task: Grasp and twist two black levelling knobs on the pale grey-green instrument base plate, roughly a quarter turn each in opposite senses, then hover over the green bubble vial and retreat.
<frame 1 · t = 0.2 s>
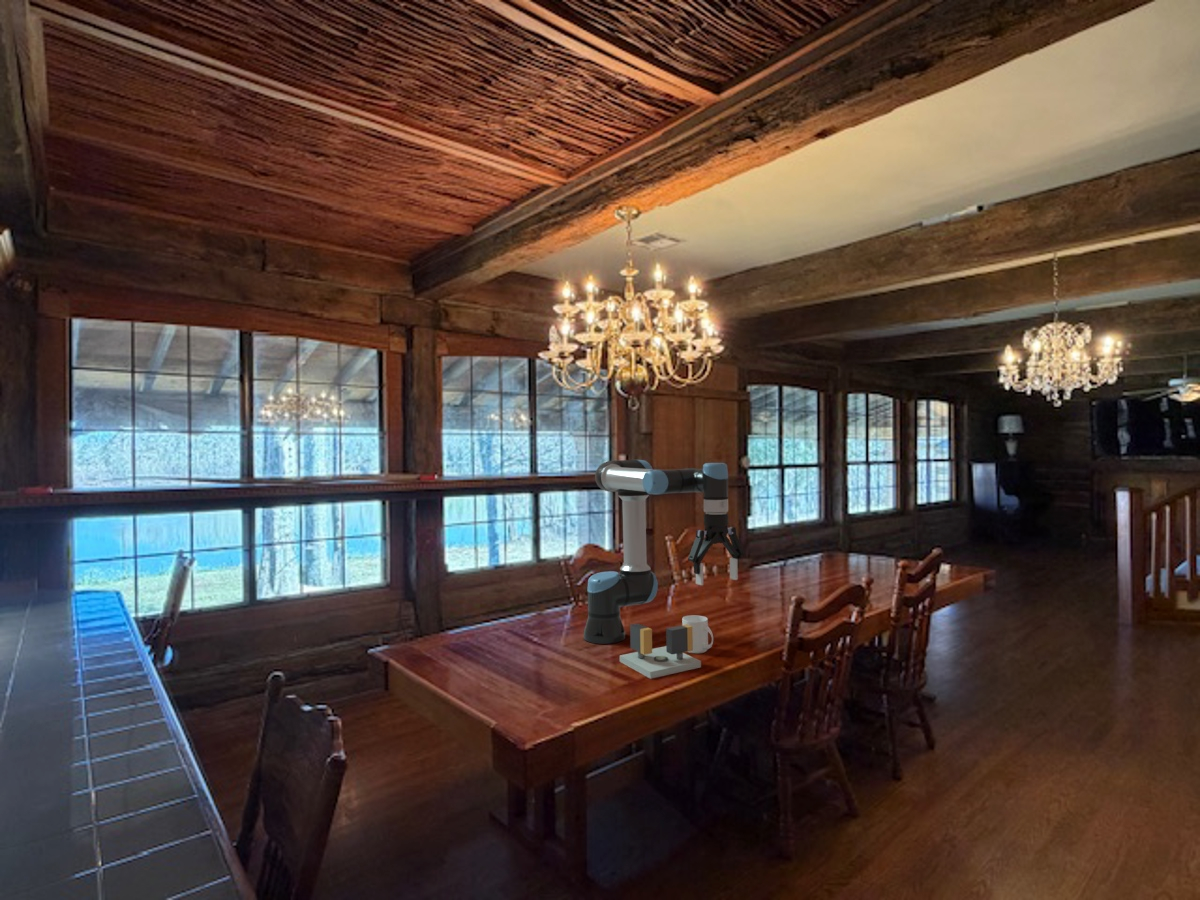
hand: (717, 581, 196), 28 cm above the table, fingers open, 13 cm apart
knob b: (679, 642, 202), point 7 cm above the table, hinge at 0.0°
knob a: (641, 642, 203), point 7 cm above the table, hinge at 0.0°
mug: (699, 651, 216), on the table
base plate: (659, 664, 203), on the table
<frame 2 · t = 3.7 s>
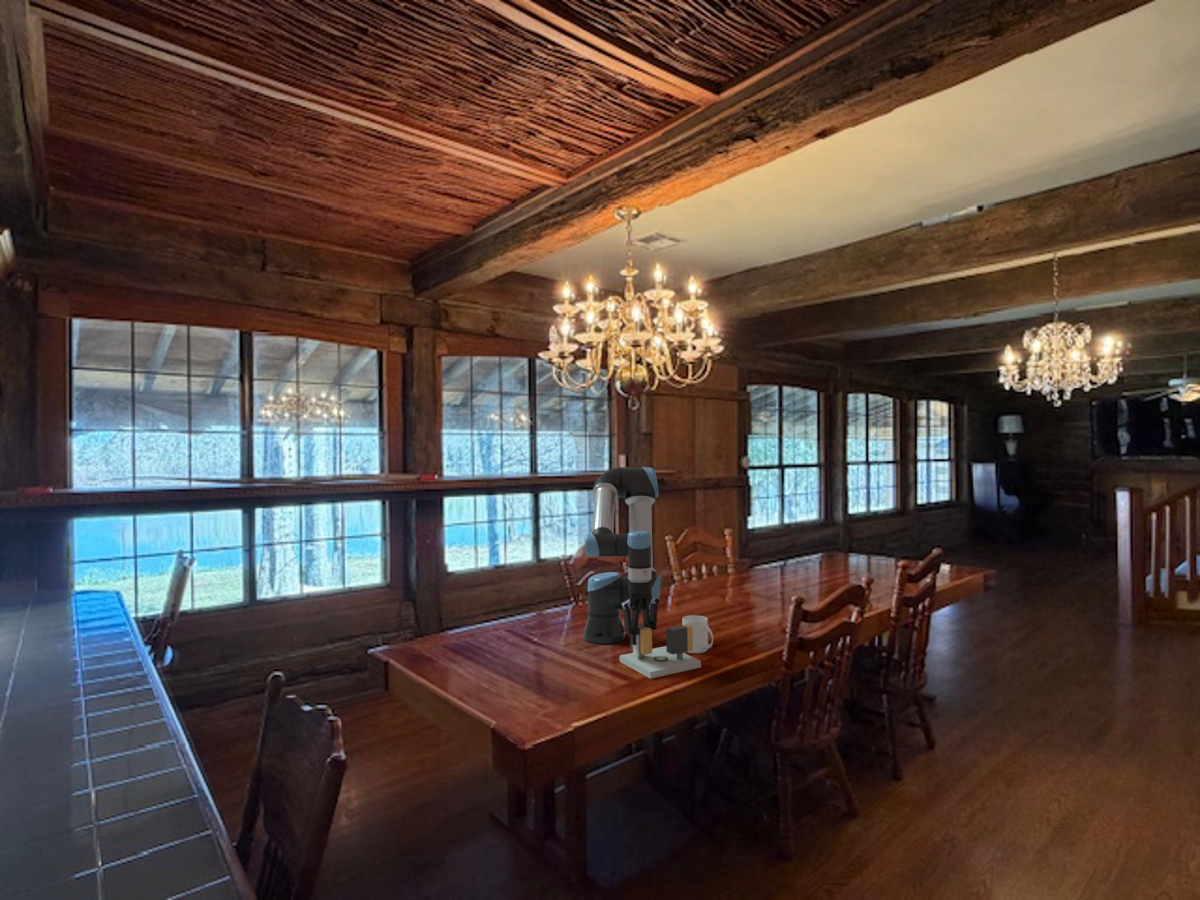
hand: (641, 653, 203), 4 cm above the table, fingers closed on knob a, 3 cm apart
knob a: (641, 642, 203), point 7 cm above the table, hinge at 0.0°, touching gripper
everything else where it was.
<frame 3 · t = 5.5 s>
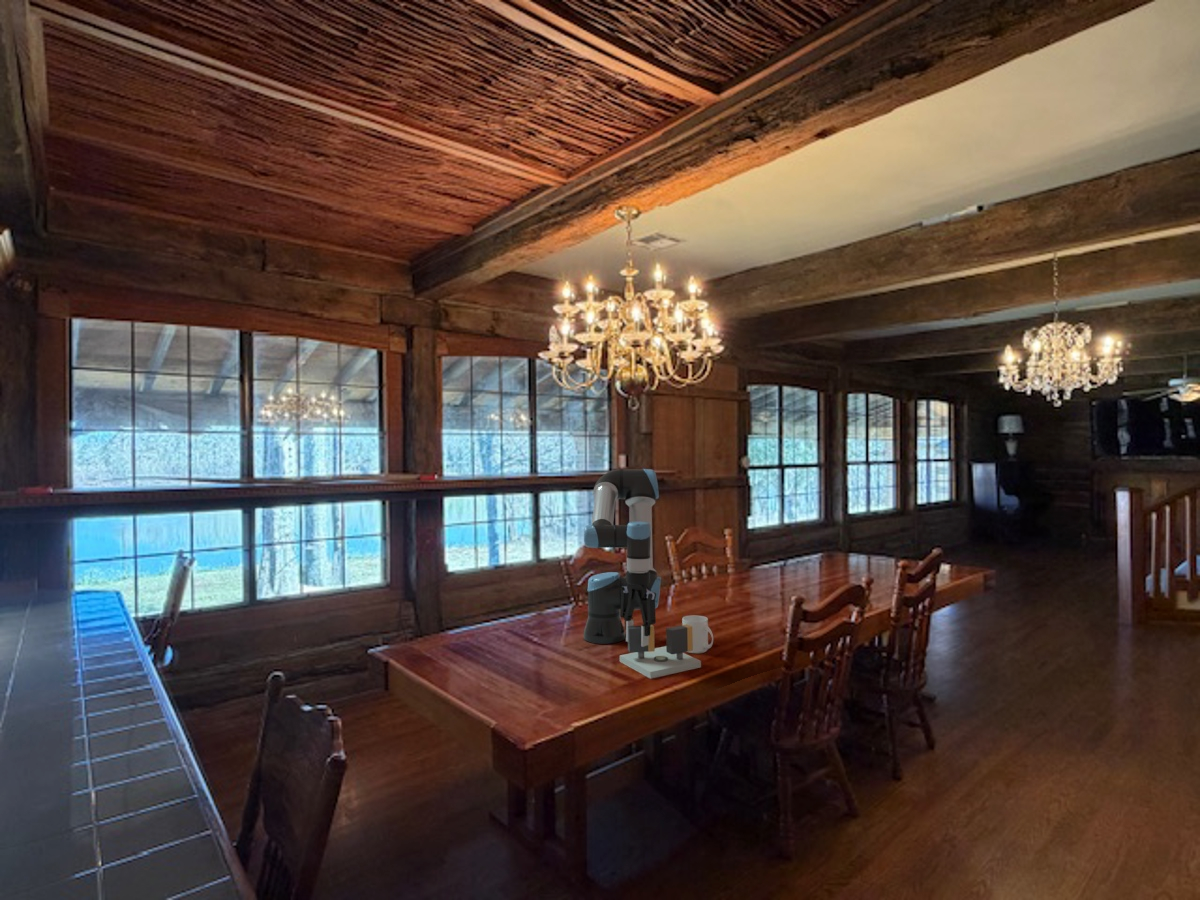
hand: (637, 643, 203), 7 cm above the table, fingers closed on knob a, 6 cm apart
knob a: (641, 642, 203), point 7 cm above the table, hinge at 68.3°, touching gripper
everything else where it was.
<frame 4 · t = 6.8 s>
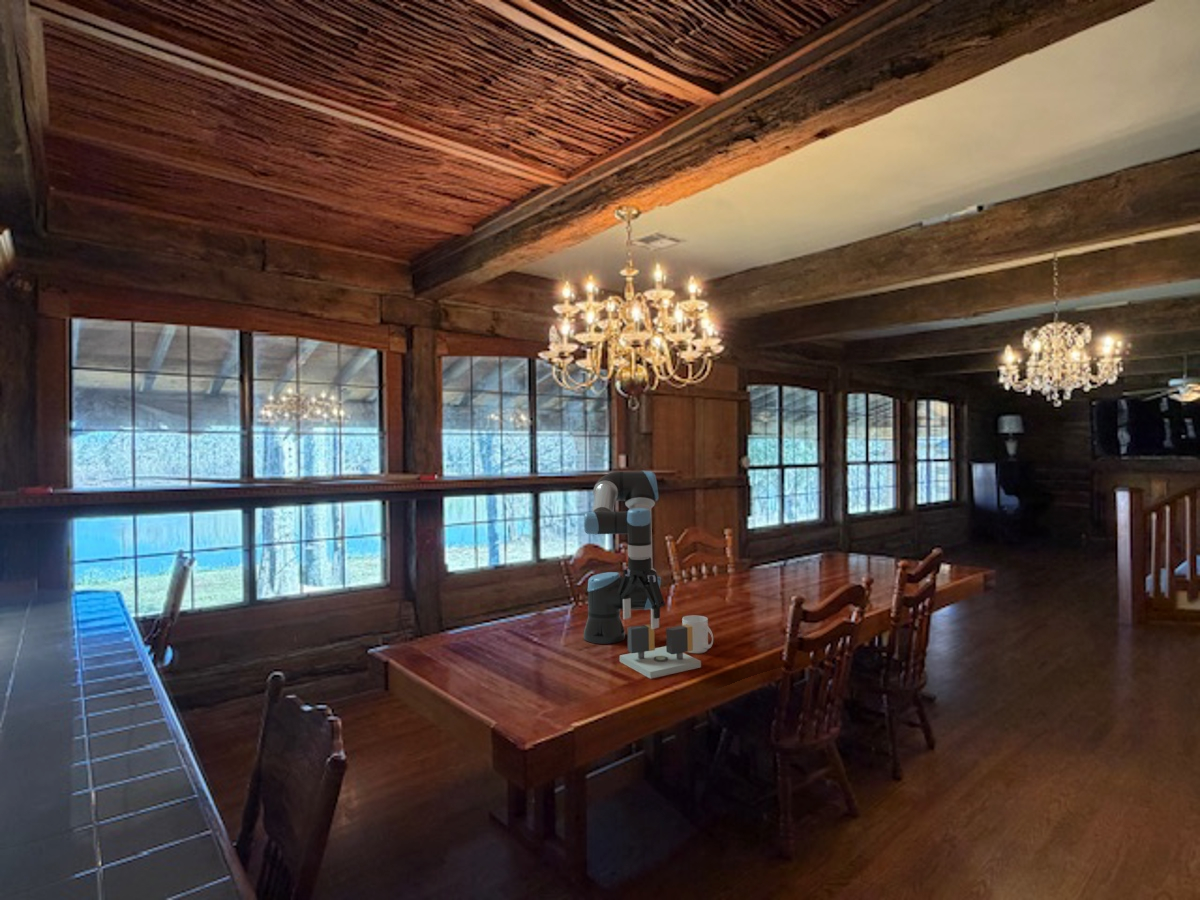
hand: (640, 623, 204), 13 cm above the table, fingers open, 13 cm apart
knob a: (641, 642, 203), point 7 cm above the table, hinge at 82.1°
everything else where it was.
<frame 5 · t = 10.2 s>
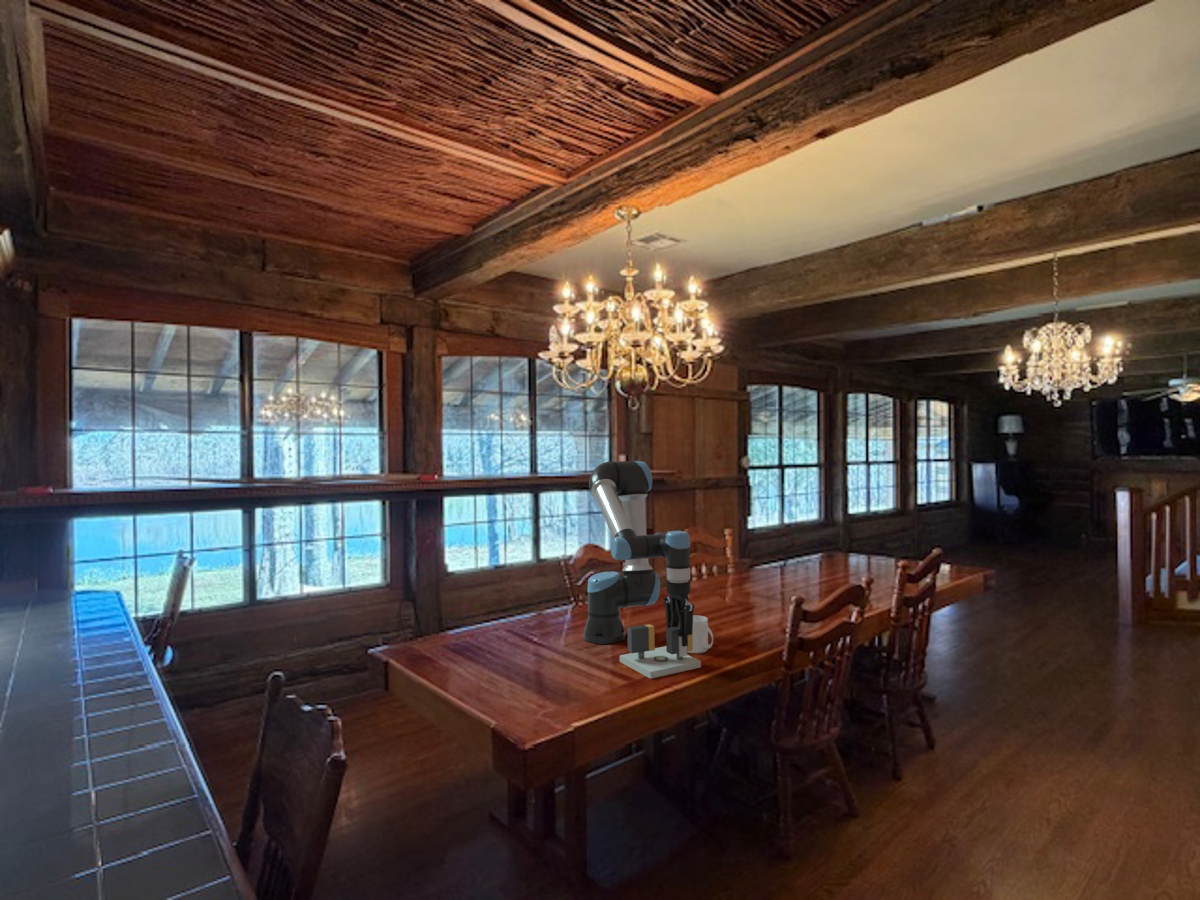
hand: (679, 654, 202), 4 cm above the table, fingers closed on knob b, 3 cm apart
knob b: (679, 642, 202), point 7 cm above the table, hinge at 0.0°, touching gripper
knob a: (641, 642, 203), point 7 cm above the table, hinge at 82.7°
everything else where it was.
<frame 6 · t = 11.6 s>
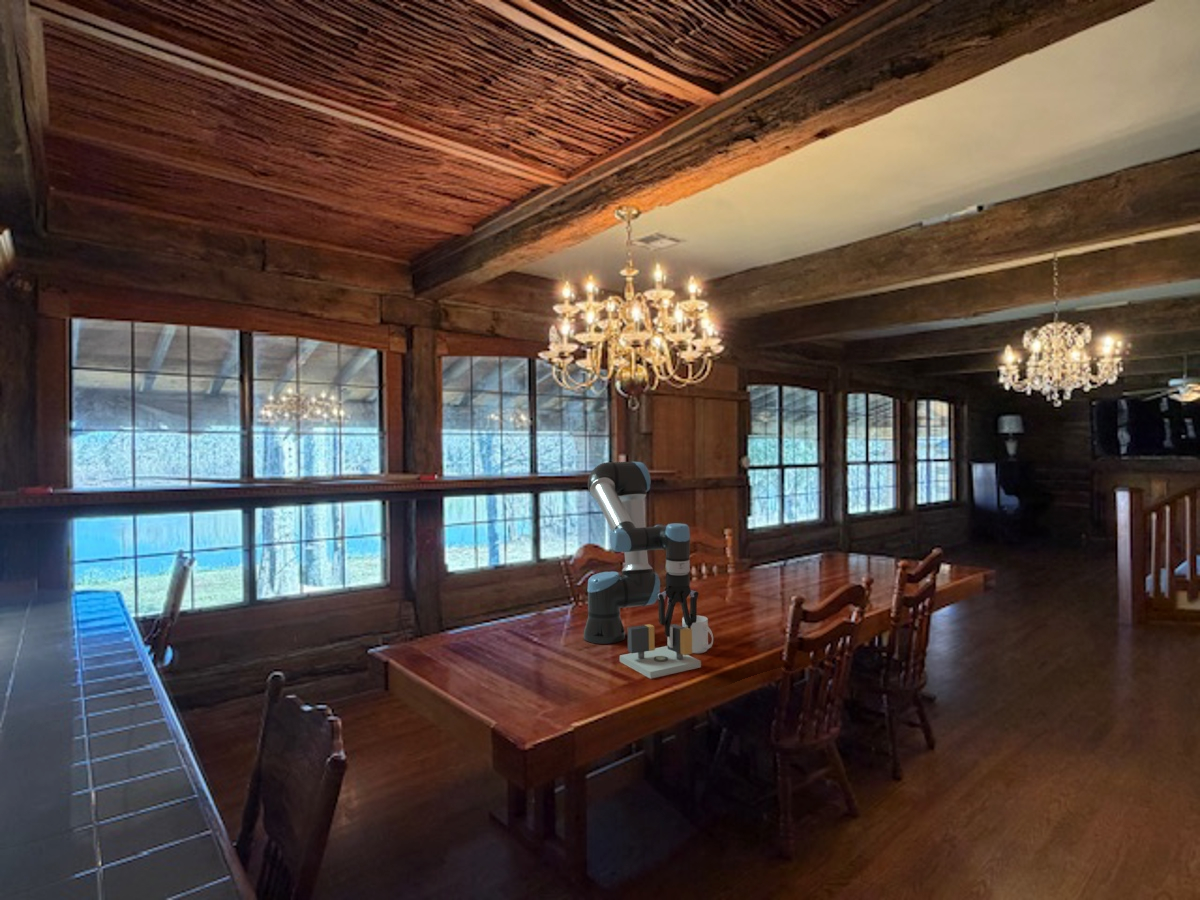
hand: (677, 645, 203), 6 cm above the table, fingers closed on knob b, 4 cm apart
knob b: (679, 642, 202), point 7 cm above the table, hinge at -83.2°, touching gripper
everything else where it was.
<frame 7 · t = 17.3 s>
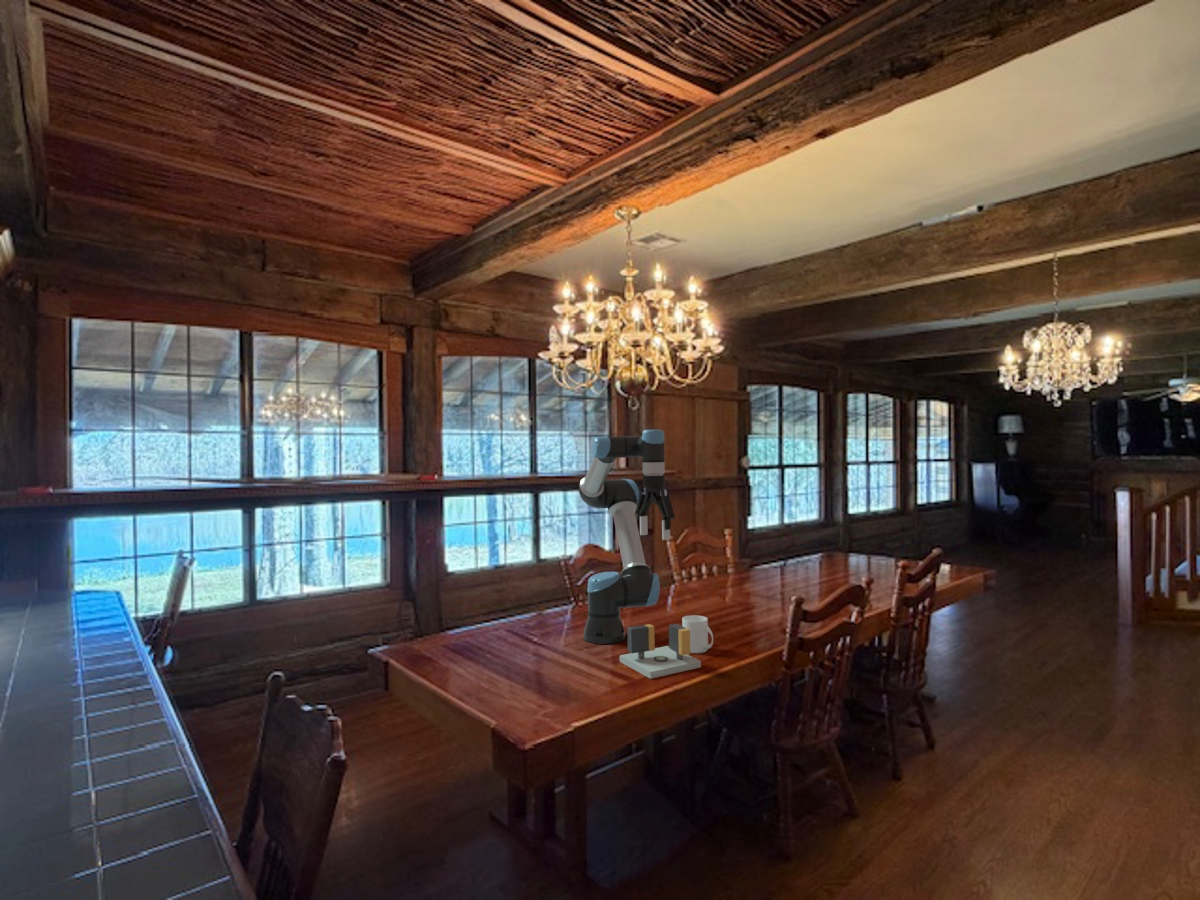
hand: (654, 537, 217), 39 cm above the table, fingers open, 13 cm apart
knob b: (679, 642, 202), point 7 cm above the table, hinge at -95.5°
everything else where it was.
at the end: knob a at +83° (first picture: +0°); knob b at -96° (first picture: +0°) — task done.
